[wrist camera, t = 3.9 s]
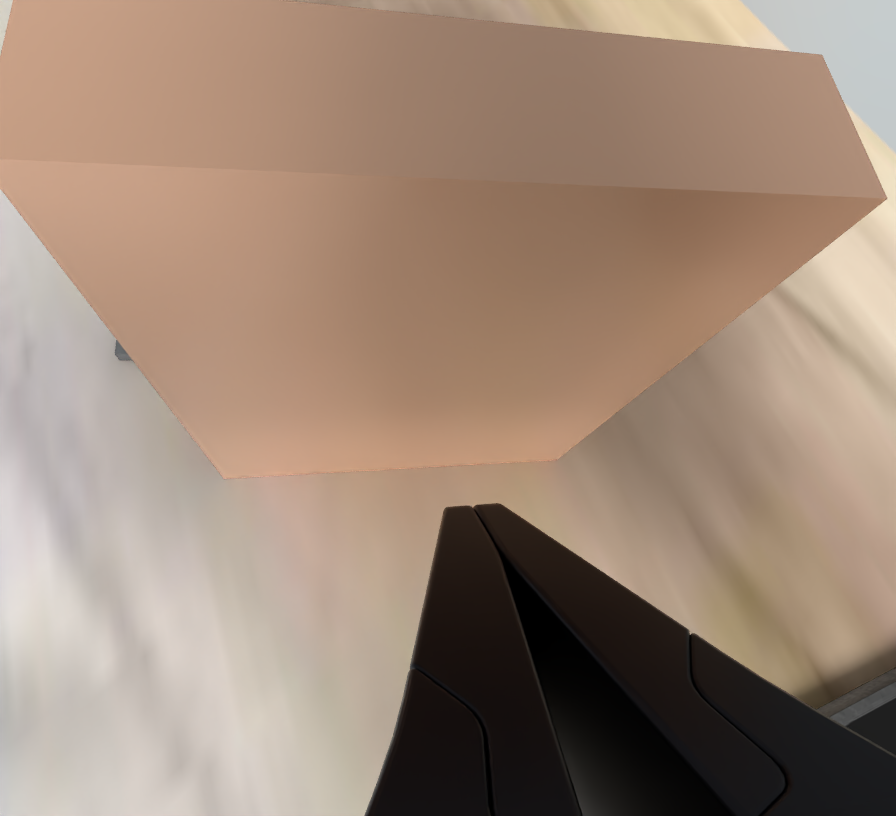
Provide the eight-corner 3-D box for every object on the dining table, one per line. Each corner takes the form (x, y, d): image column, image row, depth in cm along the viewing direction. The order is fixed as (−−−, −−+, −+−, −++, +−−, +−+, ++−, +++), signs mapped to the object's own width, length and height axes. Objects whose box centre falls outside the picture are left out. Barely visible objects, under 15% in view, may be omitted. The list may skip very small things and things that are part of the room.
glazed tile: (556, 460, 18) (887, 198, 7) (223, 478, 16) (-24, 158, 5) (543, 383, 19) (818, 47, 8) (226, 392, 17) (21, -37, 6)
